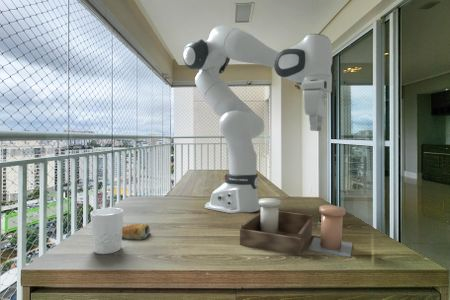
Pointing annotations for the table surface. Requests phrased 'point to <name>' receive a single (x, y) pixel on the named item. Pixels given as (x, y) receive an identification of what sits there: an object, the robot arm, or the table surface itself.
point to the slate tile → (344, 250)
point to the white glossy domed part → (269, 215)
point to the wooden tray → (279, 233)
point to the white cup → (107, 230)
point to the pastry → (135, 231)
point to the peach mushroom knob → (331, 226)
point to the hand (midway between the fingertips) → (316, 131)
